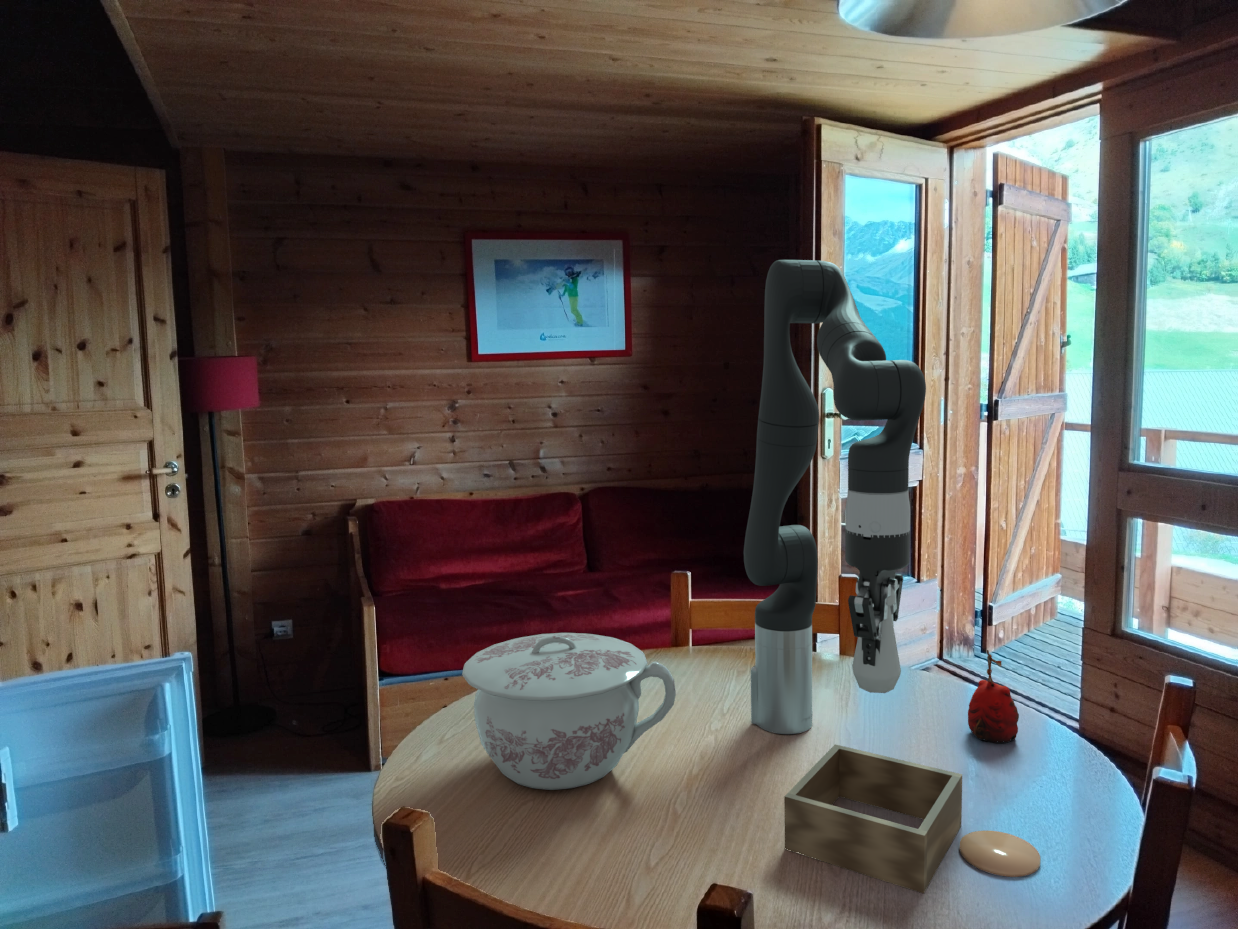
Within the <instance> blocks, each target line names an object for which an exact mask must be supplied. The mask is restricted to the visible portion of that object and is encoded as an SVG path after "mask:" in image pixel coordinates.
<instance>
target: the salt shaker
mask: <svg viewBox="0 0 1238 929" xmlns="http://www.w3.org/2000/svg"><path fill="white" fill-rule="evenodd" d="M895 597H896V596H895V591H894V589H893V588H892V587H891V595H890V597H889V598H888V599H887V604H888V611H887V619H886V620H885V621H883V624H882V638H881V643H880V654H879V651H878V650H877V648H876V660H875V666H871V665H869V664H867V665H865V664H863V650H862V638H860V637H857V641H856V647H855V650H854V655H853V660H852V665H851V666H852V673H853V676H854V678H855V680H856V684H857V685H858V687H859V689H862V690H863V691H865V692H868V693H872V694H874V693H875V694H887V693H889V692H891V691H892V690H894V689H895V688H896V686H897V683H898V681H899V679H900V677H901V673H902V668H901V663H900V657H899V656H900V655H899V651H898V646H897V645H898V644H897V640H896V633H895V629H894V627H895V626H894V627H893V624H894V621H892V615H891V609H890V606H892V605H893V604H894V603H895ZM874 613H877V614H879V613H880V611H874ZM875 623H876V622H875ZM866 628H868V626H867V625H866ZM869 646H871V645H870V644H869ZM869 653H870V652H869ZM868 659H869V660H870V659H871V658H870V657H868Z"/></svg>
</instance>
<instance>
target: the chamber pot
mask: <svg viewBox="0 0 1238 929" xmlns="http://www.w3.org/2000/svg"><path fill="white" fill-rule="evenodd" d="M461 676H462V678H464V679H465V681H466V682H467V684H468V685H469V686H471V687H472V688H474V689H476V692H475V696H474V701H473V710H474V712H473V713H474V723H475V725H476V729H477V734H478V736H479V741H480V744H481V746H482V747H483V749H484V751H485V752H486V753H487V755H488V756H489V758H490V759H491V760H492V762H493V763H494V764H495V766H496V767H497V768H498V770H499V771H500V773H502V775H503V776H505V778H507V779H509V780H511V781H512V782H514V783H515V784H518V785H521V786H524V787H527V788H531V789H535V790H536V789H539V790H547V791H548V790H549V791H552V790H553V791H554V790H555V791H556V790H568V789H574V788H578V787H583V786H586V785H589V784H591V783H594V782H596V781H599V780H600V779H602V778H604V777H606V775H608V774H609V773H611V771H612V770H613V769H615V767H617V766H618V763H619V762H620V760H621V759H622V757H623V756H624V754H625V753H627V752H628V751H629V750H630V749H631V747H632V746H633V745H634V744H635V743H636V741H638V739H639V738H640V737H642V735H643V734H644V733H646V732H647V731H648V730H649V729H651V728H653V727H655V725H657V724H658V723H660V722H662V721H663V720H664V718H665V717H666V715H668V713H669V711H671V709H672V708H673V707H674V705H675V701H676V700H675V699H676V696H677V692H676V691H677V690H676V683H675V682H676V681H675V678H674V677H673V675H672V673H671V671H670V670H669V669H668V668H667V666H665V665H664V664H662V663H661V662H660V661H652V662H651V663H650V664H648V659H647V658H646V654H645V653H644V652H643V651H642V650H641V649H640V648H638V647H636V646H635V645H634V644H632V643H630V642H627V641H625V640H622V639H619V638H616V637H613V636H607V635H606V636H605V635H599V634H593V633H585V632H584V633H582V632H581V633H578V632H577V633H576V632H555V633H541V634H534V635H529V636H527V635H526V636H522V637H516V638H512V639H509V640H506V641H503V642H499V643H495V644H492V645H490V646H488V647H486V648H484V649H482V650H479V651H477V652H476V653H475V654H473V655H472V656H471V657H470V658H469V659H468V660H466V662H465V663H464V664H463V669H462V674H461ZM652 677H653V678H658V679H660V680H662V682H663V685H664V692H665V693H664V697H663V701H662V703H661V704H660V705H659V707H658V708H657V709H656V710H655V711H654V712H653V713H652V714H651V715H649V716H647V717H645V718H644V719H642V720H640V721H639V722H637V721H638V717H639V711H640V710H639V709H640V708H639V707H640V706H639V705H640V704H639V699H640V697H642V684H641V682H642V681H644V680H646V679H648V678H652Z"/></svg>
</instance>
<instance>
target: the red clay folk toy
mask: <svg viewBox="0 0 1238 929" xmlns="http://www.w3.org/2000/svg"><path fill="white" fill-rule="evenodd" d="M986 654H987V657H986V659H987V667H988V668H987V670H986V674H987V675H988V678H987V680H986V679H981V680H979V681H978V683H977V684H978V686H977V688H975V690H974V692H973V693H972V695H971V698H970V701H969V704H968V710H967V725H968V728H969V730H970V731H971V733H972V735H974V736H975V737H976V738H977V739H979V740H981V741H984V742H989V743H995V744H996V743H1000V744H1003V743H1010V742H1011V741H1014V740H1015V739H1016V738H1017V735H1018V732H1019V726H1018V722H1019V719H1020V714H1019V712H1018V707H1017V706H1016V704H1015V701H1014V700H1013V698H1012V695H1011V689H1009V687H1008V686H1007V685H1001V684H998V683H995V682H994V681H993V678H992V672H993V669H992V663H995V664H996V665H997V666H998V667H1002V661H1001V660H996V659H994V658H993V656H992V654H991V653H990V651H989V650H988V649H986Z"/></svg>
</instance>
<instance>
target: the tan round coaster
mask: <svg viewBox="0 0 1238 929" xmlns="http://www.w3.org/2000/svg"><path fill="white" fill-rule="evenodd" d="M959 852H960V855H961V856H962V858H963V859H964V860H965V861H966V862H967V863H969V864H970V865H971V866H973V867H975V868H976V869H978V870H981V871H983V872H986V873H989V874H992V875H995V876H1000V877H1008V878H1009V877H1010V878H1019V877H1025V876H1030V875H1032V874H1034V873H1036V872H1038V870H1039V869H1040V867H1041V855H1040V852H1039V850H1038V849H1037V848H1036V847H1035V846H1034V845H1033V844H1032V843H1030V842H1028V841H1027V840H1025V839H1023V838H1022V837H1019V836H1016V835H1014V834H1010V833H1007V832H1004V831H997V830H977V831H972V832H969V833H966V834H965V835H963V836H962V838H960V841H959Z"/></svg>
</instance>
